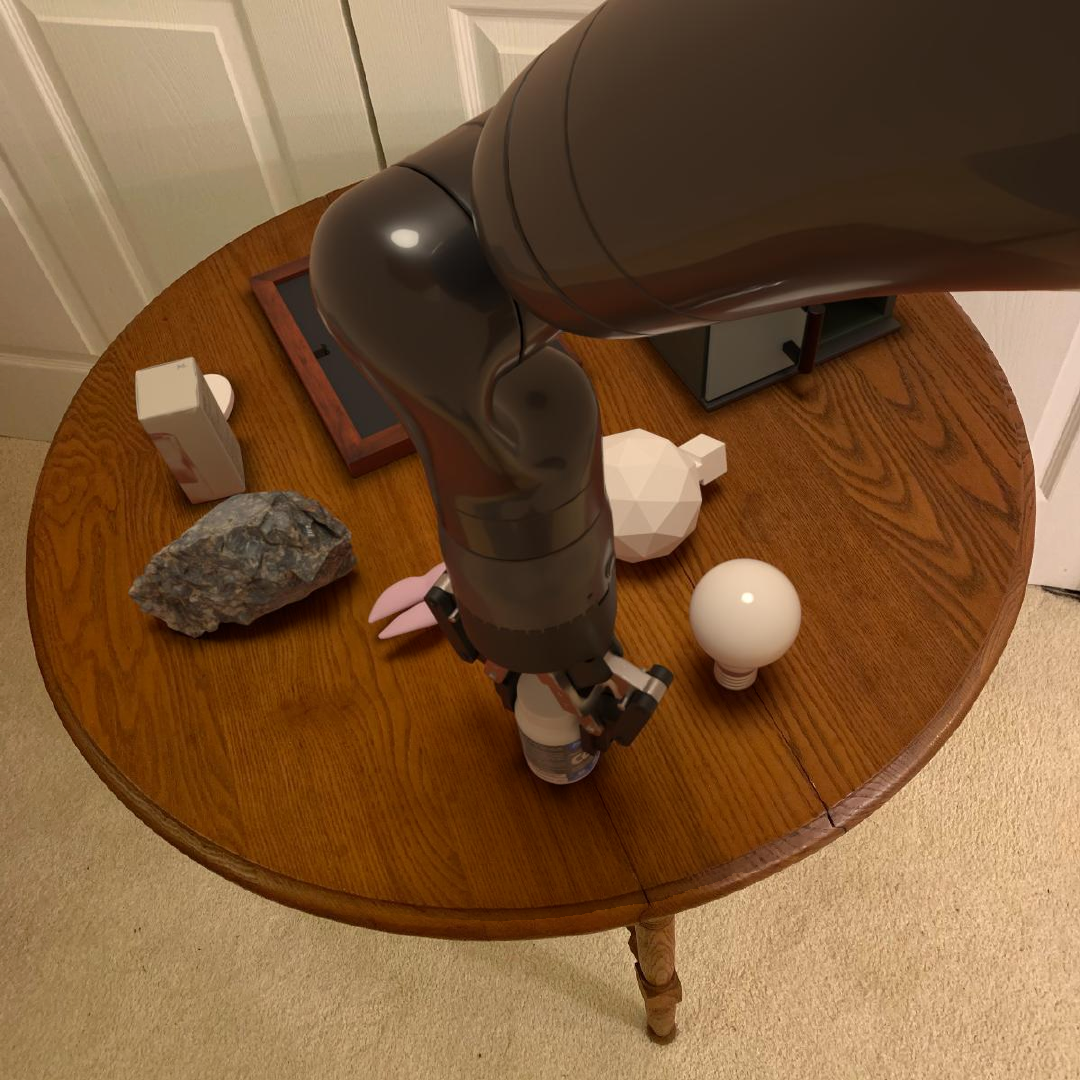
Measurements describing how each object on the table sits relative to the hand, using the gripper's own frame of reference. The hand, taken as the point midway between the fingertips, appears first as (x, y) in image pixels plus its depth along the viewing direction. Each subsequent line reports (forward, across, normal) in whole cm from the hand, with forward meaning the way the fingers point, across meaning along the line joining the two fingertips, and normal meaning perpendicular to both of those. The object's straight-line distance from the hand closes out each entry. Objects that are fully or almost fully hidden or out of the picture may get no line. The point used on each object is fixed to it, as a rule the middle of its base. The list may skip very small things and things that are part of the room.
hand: (558, 718), depth 58 cm
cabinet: (+5, -6, +41) cm, 42 cm away
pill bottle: (+5, 0, 0) cm, 5 cm away
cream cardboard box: (+5, -35, +6) cm, 36 cm away
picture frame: (+5, -31, +26) cm, 41 cm away
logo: (+5, -42, +11) cm, 44 cm away
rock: (+5, -24, -1) cm, 25 cm away
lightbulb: (+5, +7, +10) cm, 13 cm away
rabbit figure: (+5, -11, +7) cm, 14 cm away
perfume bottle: (+5, -3, +18) cm, 19 cm away
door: (+4, -2, +33) cm, 33 cm away
